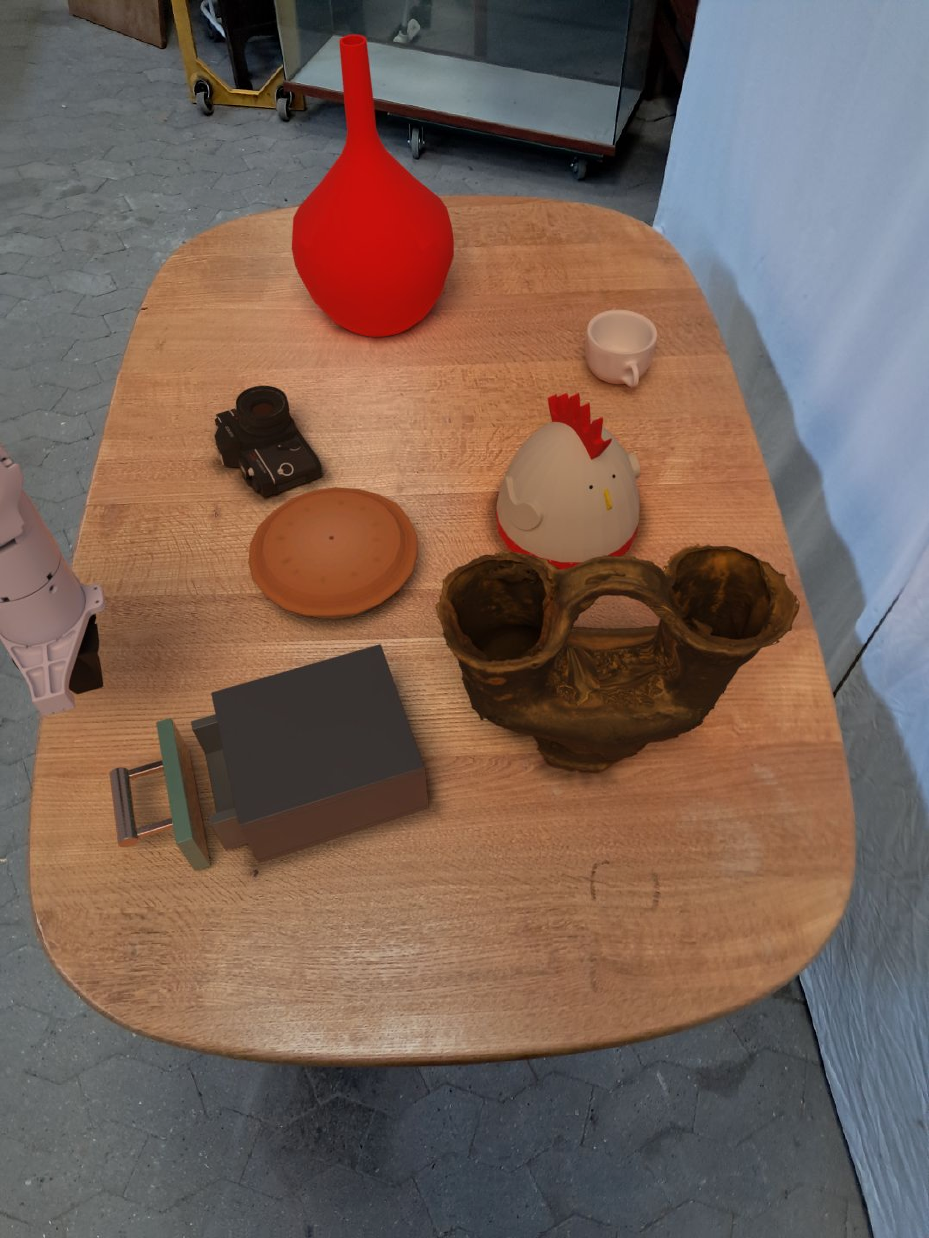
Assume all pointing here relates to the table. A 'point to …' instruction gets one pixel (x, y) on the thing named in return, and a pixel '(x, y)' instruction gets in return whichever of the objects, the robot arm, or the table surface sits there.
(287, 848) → the dark grey storage box
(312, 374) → the table surface
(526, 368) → the table surface
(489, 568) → the pottery vessel
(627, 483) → the kitchen timer
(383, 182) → the vase
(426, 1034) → the table surface
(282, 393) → the film camera
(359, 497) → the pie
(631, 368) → the teacup
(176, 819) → the drawer
